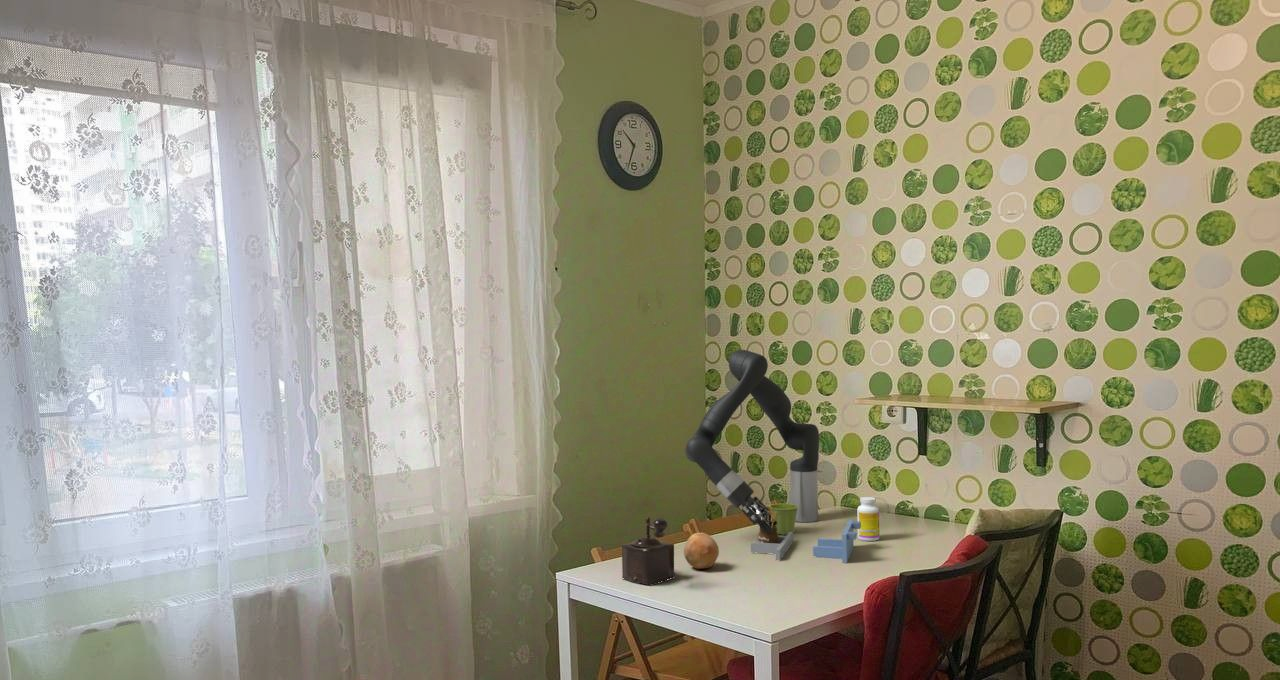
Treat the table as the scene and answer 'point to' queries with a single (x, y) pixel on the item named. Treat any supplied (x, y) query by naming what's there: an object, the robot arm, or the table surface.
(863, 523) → the supplement bottle
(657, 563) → the manual coffee grinder
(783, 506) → the plant pot
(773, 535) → the utensil holder
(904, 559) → the table surface
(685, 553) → the onion
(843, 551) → the blue rail with prongs
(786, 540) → the grey rail with prongs
